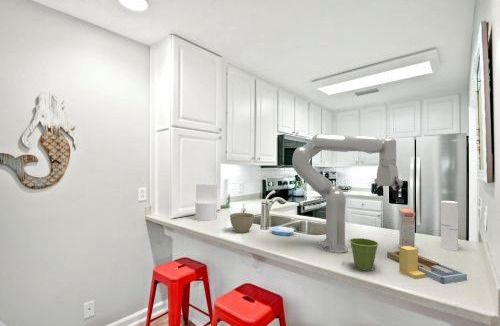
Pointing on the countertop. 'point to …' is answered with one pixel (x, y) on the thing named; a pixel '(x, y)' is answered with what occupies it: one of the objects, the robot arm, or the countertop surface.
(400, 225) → the cracker box
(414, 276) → the l-shaped block
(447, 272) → the chip
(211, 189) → the cylinder
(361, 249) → the plant pot
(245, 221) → the planter bowl
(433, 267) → the pale grey block
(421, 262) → the slot board
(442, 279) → the tray
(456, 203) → the cylindrical container
